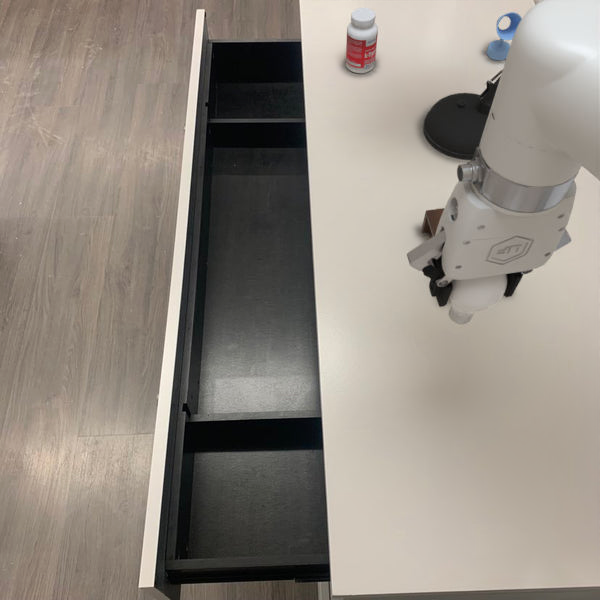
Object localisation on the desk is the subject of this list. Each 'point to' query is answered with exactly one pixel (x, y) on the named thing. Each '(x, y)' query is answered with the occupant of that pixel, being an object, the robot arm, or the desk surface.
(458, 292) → the lightbulb
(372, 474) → the desk surface
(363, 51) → the pill bottle
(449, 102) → the desk lamp
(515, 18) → the spotlight
